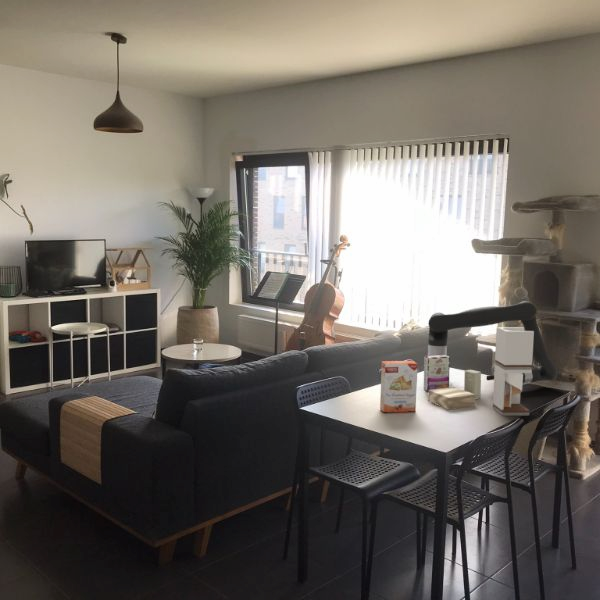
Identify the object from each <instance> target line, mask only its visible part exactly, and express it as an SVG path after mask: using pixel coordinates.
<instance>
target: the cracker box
mask: <svg viewBox="0 0 600 600" xmlns="http://www.w3.org/2000/svg"><path fill="white" fill-rule="evenodd" d="M418 366H419V364H418V363H417V362H415V361H414V360H391V361H390V360H385V361H383V360H382V361H381V375H380V378H381V379H380V397H379V398H380V399H379V400H380V401H379V403H380V404H379V408H380V410H381V412H382V413H383V412H395V413H409V412H408V411H415V412H416V408H417V404H416V403H417V389H418V388H417V387H418V386H417V385H418V368H419V367H418Z"/></svg>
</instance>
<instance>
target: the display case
mask: <svg viewBox="0 0 600 600" xmlns="http://www.w3.org/2000/svg"><path fill="white" fill-rule="evenodd" d="M495 332H496V334H495V352H494V353H495V356H494V371H493V373H494V380H493V393H492V394H493V395H492V396H493V397H492V409H493V408H494V409H493V410H494V411H496V412H497V413H498V414H500V415H501V416H530V410H529V409H528V408H527V407H525V406H524V405H523V404H521V393H522V392H523V385H524V384H523V374H522V373H532V368H533V339H534V331H525V329H524V326H523V327H522V326H518V327H517V326H513V327H512V326H500V327H499V326H497V327H496V331H495Z"/></svg>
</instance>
